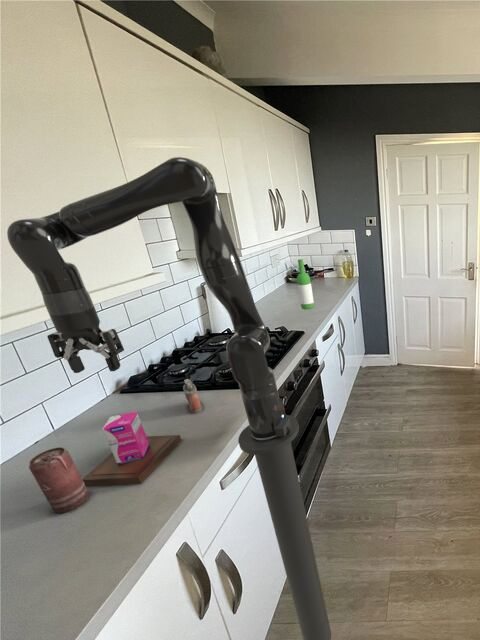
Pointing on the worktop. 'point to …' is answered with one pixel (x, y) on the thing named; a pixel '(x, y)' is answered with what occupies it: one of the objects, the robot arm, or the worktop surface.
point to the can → (59, 479)
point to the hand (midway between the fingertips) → (97, 370)
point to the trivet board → (132, 464)
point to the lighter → (192, 396)
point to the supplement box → (126, 437)
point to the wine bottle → (304, 287)
